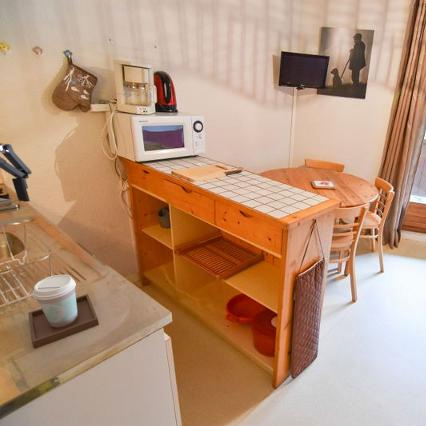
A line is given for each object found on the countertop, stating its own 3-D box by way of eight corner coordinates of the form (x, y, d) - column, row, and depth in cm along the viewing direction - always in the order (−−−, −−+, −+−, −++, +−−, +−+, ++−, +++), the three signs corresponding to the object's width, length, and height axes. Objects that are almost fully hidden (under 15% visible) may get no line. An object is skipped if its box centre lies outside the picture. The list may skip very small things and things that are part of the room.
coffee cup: (35, 325, 82) (22, 287, 78) (70, 305, 90) (60, 270, 85) (57, 335, 80) (45, 297, 75) (91, 315, 87) (82, 278, 83)
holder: (30, 318, 85) (28, 312, 84) (89, 299, 94) (87, 293, 93) (34, 348, 76) (32, 342, 76) (99, 324, 85) (97, 318, 84)
